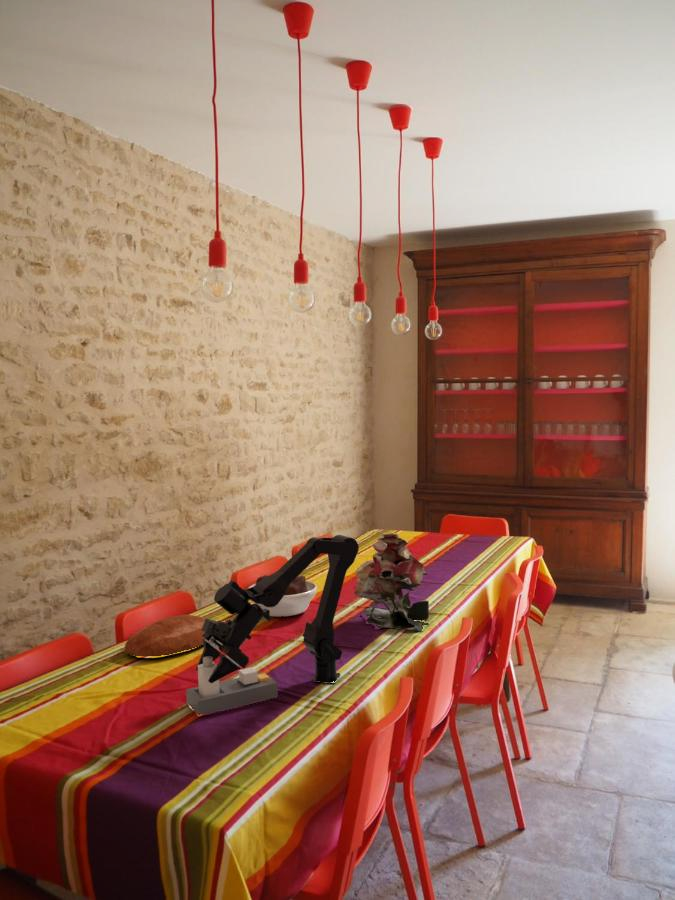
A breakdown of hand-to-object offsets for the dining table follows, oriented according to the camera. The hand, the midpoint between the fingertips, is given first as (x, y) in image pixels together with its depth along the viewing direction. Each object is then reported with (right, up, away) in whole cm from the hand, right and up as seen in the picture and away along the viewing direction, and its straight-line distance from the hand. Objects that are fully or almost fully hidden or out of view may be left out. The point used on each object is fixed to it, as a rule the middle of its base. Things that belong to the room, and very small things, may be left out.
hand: (203, 676), depth 182 cm
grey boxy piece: (+7, -8, +4) cm, 11 cm away
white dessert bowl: (+14, -3, +82) cm, 83 cm away
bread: (-19, -6, +50) cm, 54 cm away
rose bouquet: (+52, -2, +70) cm, 87 cm away
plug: (+1, -8, +1) cm, 8 cm away
